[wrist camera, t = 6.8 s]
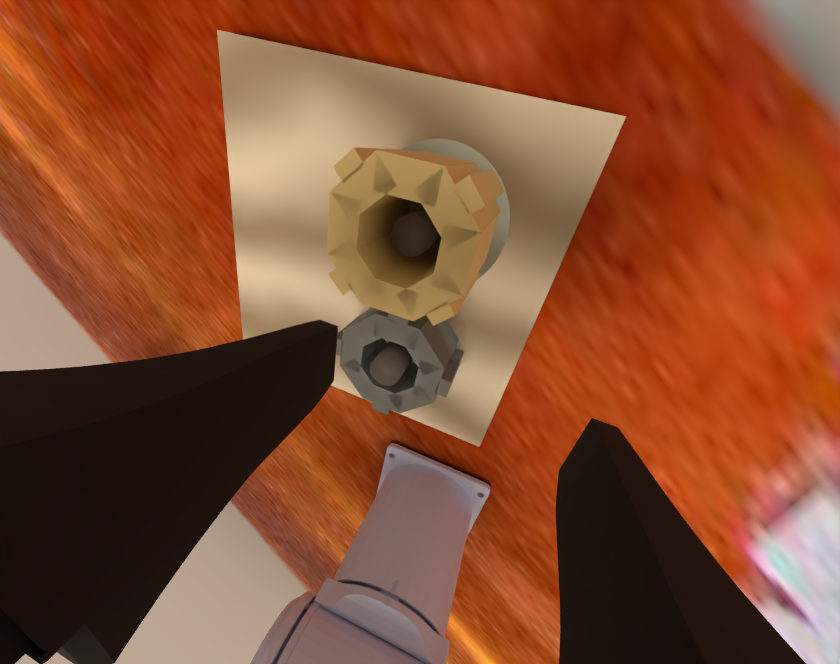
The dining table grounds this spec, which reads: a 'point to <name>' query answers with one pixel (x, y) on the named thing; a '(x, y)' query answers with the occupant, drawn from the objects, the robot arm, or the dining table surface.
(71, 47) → the dining table surface
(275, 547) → the dining table surface
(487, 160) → the gear board
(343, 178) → the ochre gear
